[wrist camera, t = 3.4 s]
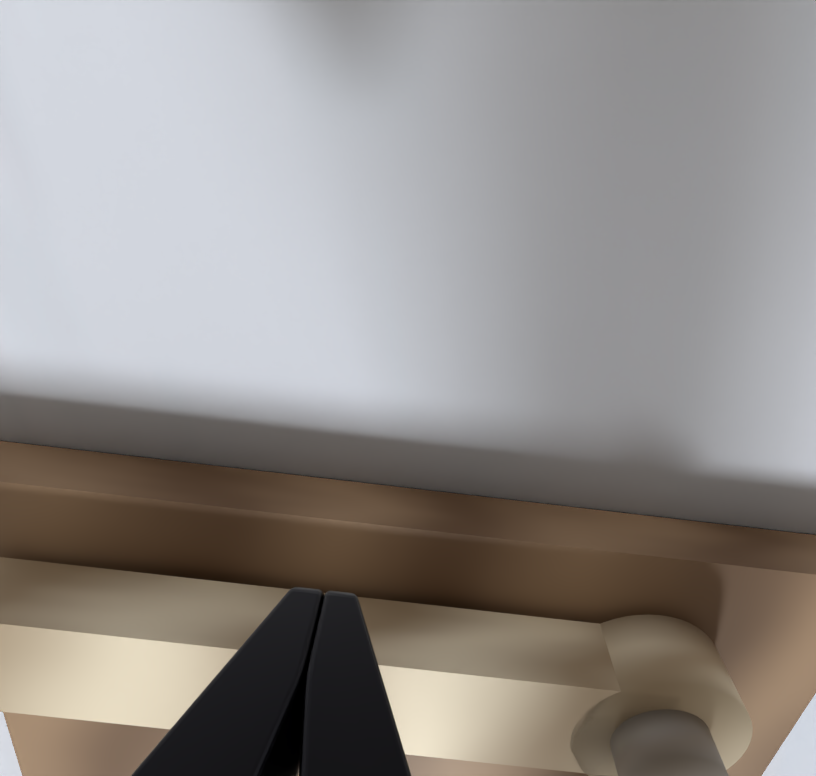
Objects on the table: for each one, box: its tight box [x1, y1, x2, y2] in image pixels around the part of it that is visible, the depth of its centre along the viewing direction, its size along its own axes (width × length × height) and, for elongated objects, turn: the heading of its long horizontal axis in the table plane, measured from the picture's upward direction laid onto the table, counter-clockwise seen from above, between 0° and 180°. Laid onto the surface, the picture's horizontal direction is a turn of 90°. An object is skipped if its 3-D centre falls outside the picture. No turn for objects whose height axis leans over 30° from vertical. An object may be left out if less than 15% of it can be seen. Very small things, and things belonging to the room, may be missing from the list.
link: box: [0, 557, 753, 776], centre depth 14 cm, size 18×4×3 cm, turn 83°
